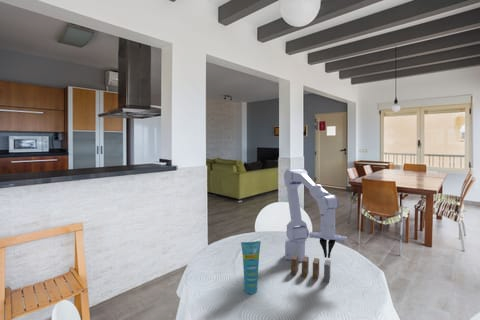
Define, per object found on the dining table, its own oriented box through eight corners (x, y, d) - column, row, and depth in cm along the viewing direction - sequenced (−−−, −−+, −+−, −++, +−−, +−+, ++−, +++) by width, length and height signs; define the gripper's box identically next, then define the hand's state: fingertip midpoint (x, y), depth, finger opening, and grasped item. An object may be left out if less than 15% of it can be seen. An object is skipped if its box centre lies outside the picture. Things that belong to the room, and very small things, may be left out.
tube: (243, 295, 94) (242, 244, 93) (240, 288, 98) (239, 239, 98) (262, 292, 95) (262, 242, 94) (258, 285, 100) (258, 238, 99)
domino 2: (301, 276, 107) (301, 260, 107) (303, 271, 112) (304, 256, 111) (306, 277, 106) (306, 261, 106) (308, 272, 111) (308, 256, 110)
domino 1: (291, 274, 109) (291, 258, 109) (293, 269, 114) (293, 254, 113) (295, 275, 108) (295, 259, 108) (298, 270, 113) (298, 255, 112)
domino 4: (323, 281, 103) (324, 264, 103) (325, 275, 108) (325, 259, 108) (329, 282, 102) (329, 265, 102) (330, 276, 107) (330, 260, 107)
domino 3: (312, 279, 105) (312, 262, 105) (314, 273, 110) (314, 257, 109) (317, 280, 104) (317, 263, 104) (319, 274, 109) (319, 258, 109)
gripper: (308, 224, 103) (307, 257, 104) (346, 229, 97) (345, 264, 98) (310, 220, 110) (310, 251, 110) (347, 224, 104) (346, 256, 104)
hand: (327, 256), depth 105 cm, fingers closed
